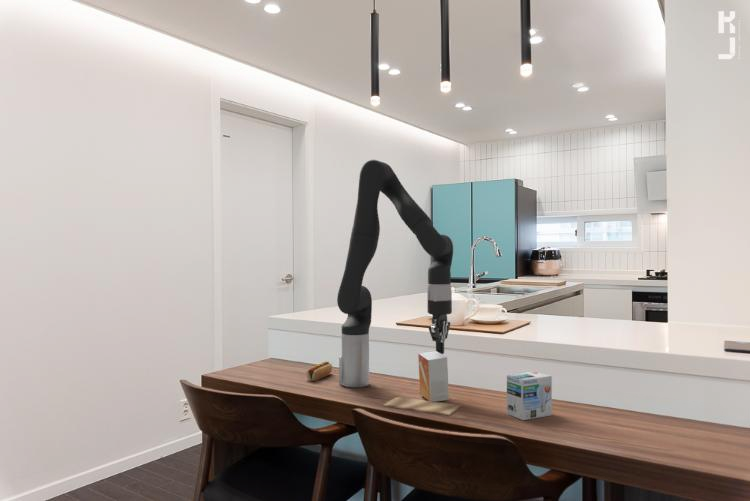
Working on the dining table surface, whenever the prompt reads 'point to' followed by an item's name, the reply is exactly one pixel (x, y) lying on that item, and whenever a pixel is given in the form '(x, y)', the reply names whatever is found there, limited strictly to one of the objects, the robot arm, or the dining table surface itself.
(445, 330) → the robot arm
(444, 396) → the small box
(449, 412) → the wooden board
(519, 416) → the light bulb box
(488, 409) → the dining table surface
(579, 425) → the dining table surface
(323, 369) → the food
